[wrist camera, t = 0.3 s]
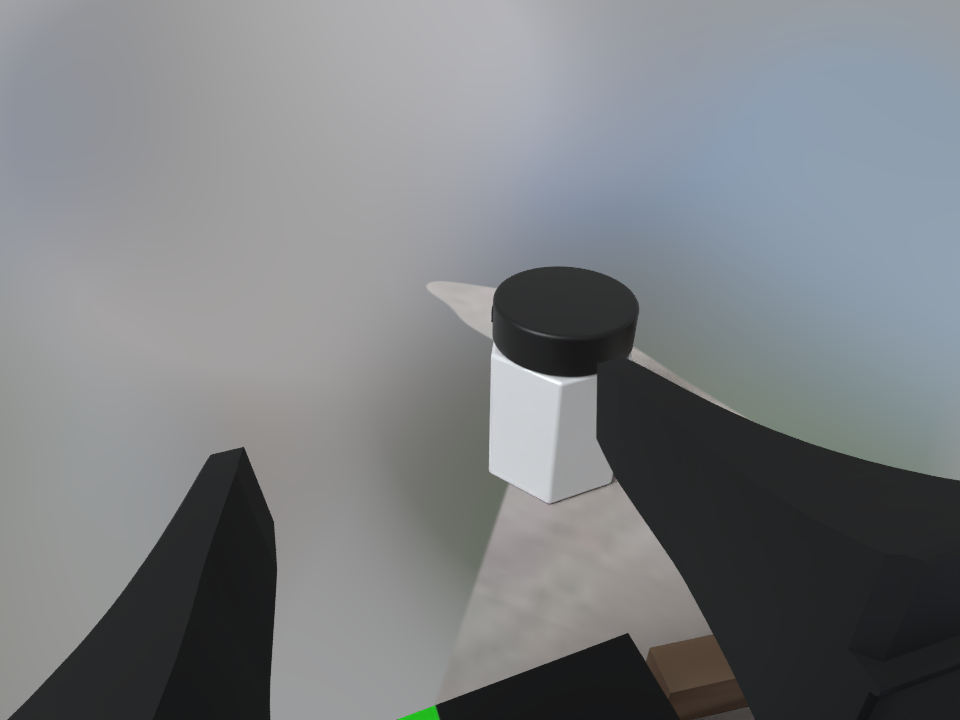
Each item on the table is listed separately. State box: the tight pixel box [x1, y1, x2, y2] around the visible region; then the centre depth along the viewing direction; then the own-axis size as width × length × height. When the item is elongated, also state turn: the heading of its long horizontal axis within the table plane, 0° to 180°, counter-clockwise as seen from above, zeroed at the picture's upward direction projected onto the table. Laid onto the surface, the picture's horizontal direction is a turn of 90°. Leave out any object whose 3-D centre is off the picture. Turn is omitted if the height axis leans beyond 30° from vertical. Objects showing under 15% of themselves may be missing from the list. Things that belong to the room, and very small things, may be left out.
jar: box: [489, 267, 639, 504], centre depth 38 cm, size 9×8×12 cm
